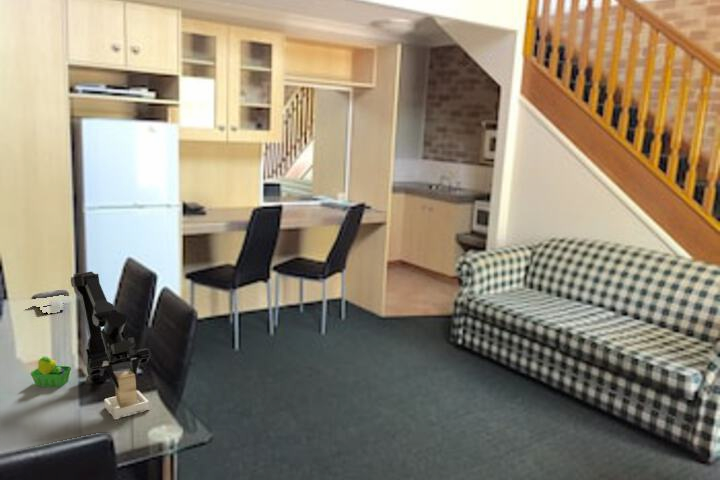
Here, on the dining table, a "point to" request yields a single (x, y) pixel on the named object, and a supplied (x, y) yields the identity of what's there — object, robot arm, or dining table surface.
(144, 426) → the dining table surface
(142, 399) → the tray
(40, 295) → the glasses case
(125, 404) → the light brown tall block
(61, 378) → the fruit basket
